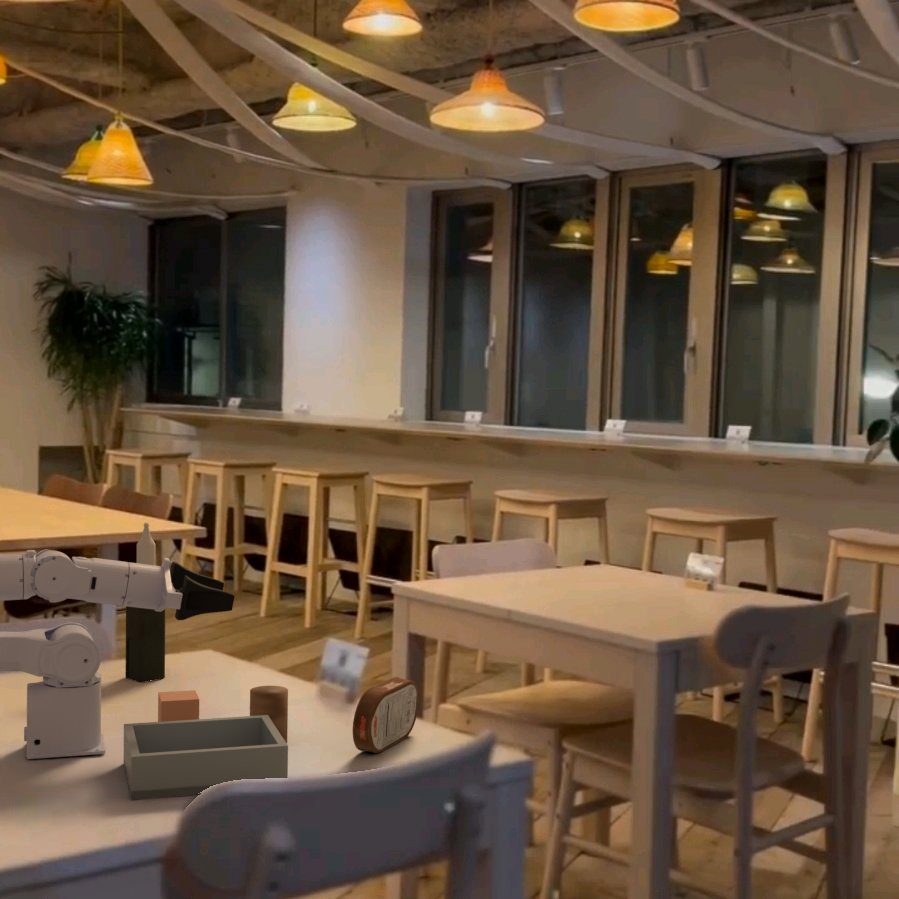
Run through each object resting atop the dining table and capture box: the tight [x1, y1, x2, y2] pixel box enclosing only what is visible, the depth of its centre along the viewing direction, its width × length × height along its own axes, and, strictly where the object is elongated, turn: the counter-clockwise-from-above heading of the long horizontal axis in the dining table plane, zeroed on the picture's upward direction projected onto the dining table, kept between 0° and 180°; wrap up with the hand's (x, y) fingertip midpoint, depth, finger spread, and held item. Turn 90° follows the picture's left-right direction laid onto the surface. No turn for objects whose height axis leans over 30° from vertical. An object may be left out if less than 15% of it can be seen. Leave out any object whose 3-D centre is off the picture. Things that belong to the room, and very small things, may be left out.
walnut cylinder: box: [249, 685, 289, 744], centre depth 166 cm, size 5×5×7 cm
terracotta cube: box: [157, 690, 200, 722], centre depth 170 cm, size 5×5×5 cm
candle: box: [124, 522, 166, 683], centre depth 199 cm, size 5×5×25 cm
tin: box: [352, 676, 419, 754], centre depth 166 cm, size 15×3×8 cm, turn 156°
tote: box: [123, 715, 289, 801], centre depth 151 cm, size 18×14×5 cm
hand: (227, 596), depth 167 cm, fingers open, 7 cm apart
